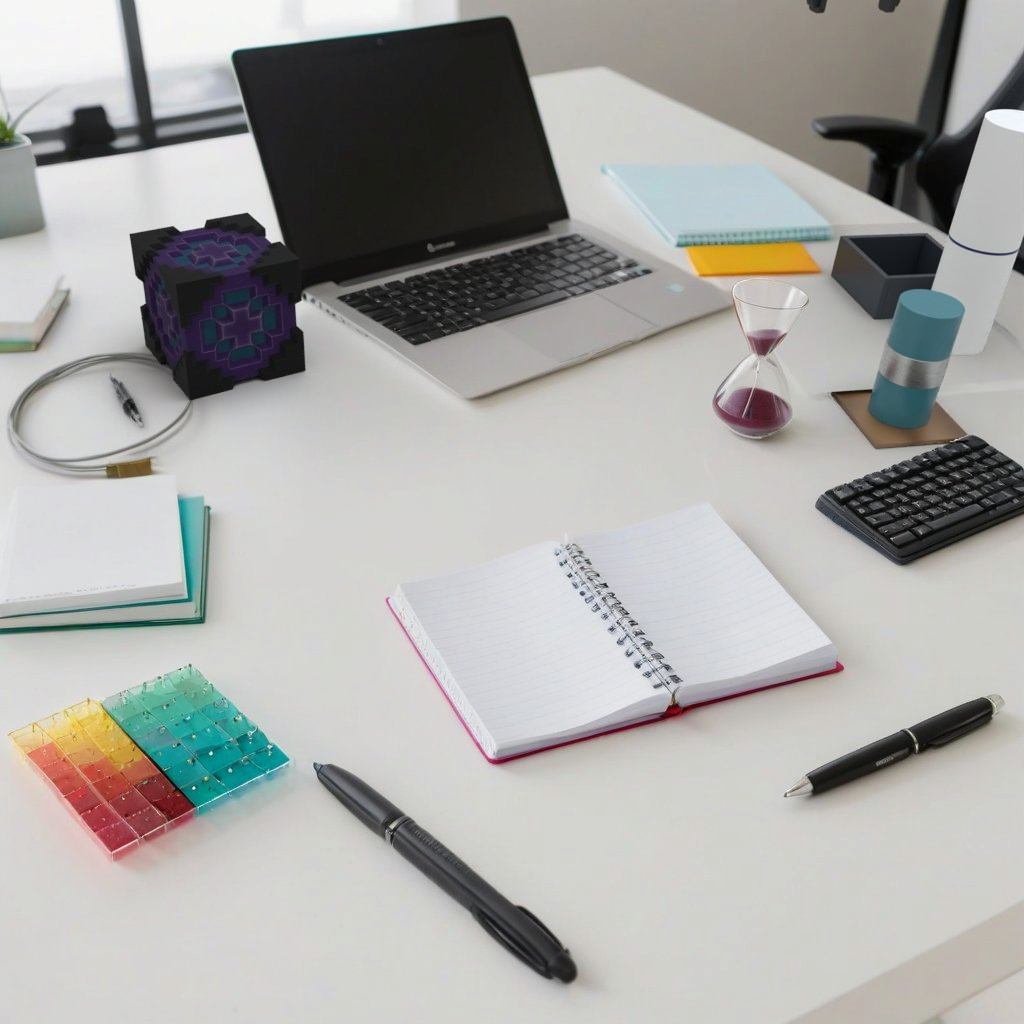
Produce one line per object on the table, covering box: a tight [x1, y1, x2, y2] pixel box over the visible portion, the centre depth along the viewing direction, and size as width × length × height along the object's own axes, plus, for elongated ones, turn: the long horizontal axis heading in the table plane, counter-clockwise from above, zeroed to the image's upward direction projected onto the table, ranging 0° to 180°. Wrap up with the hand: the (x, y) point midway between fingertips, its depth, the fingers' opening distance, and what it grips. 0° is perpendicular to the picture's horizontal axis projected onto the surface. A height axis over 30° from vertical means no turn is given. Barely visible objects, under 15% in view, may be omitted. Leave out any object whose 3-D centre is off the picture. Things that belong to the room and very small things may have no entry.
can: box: [868, 289, 965, 429], centre depth 111 cm, size 6×6×12 cm
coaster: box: [830, 388, 969, 449], centre depth 115 cm, size 10×10×1 cm
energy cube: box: [129, 212, 306, 401], centre depth 112 cm, size 12×12×12 cm
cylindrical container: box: [931, 108, 1024, 356], centre depth 120 cm, size 7×7×25 cm
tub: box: [830, 232, 945, 321], centre depth 134 cm, size 11×11×6 cm
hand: (851, 11), depth 123 cm, fingers open, 8 cm apart
